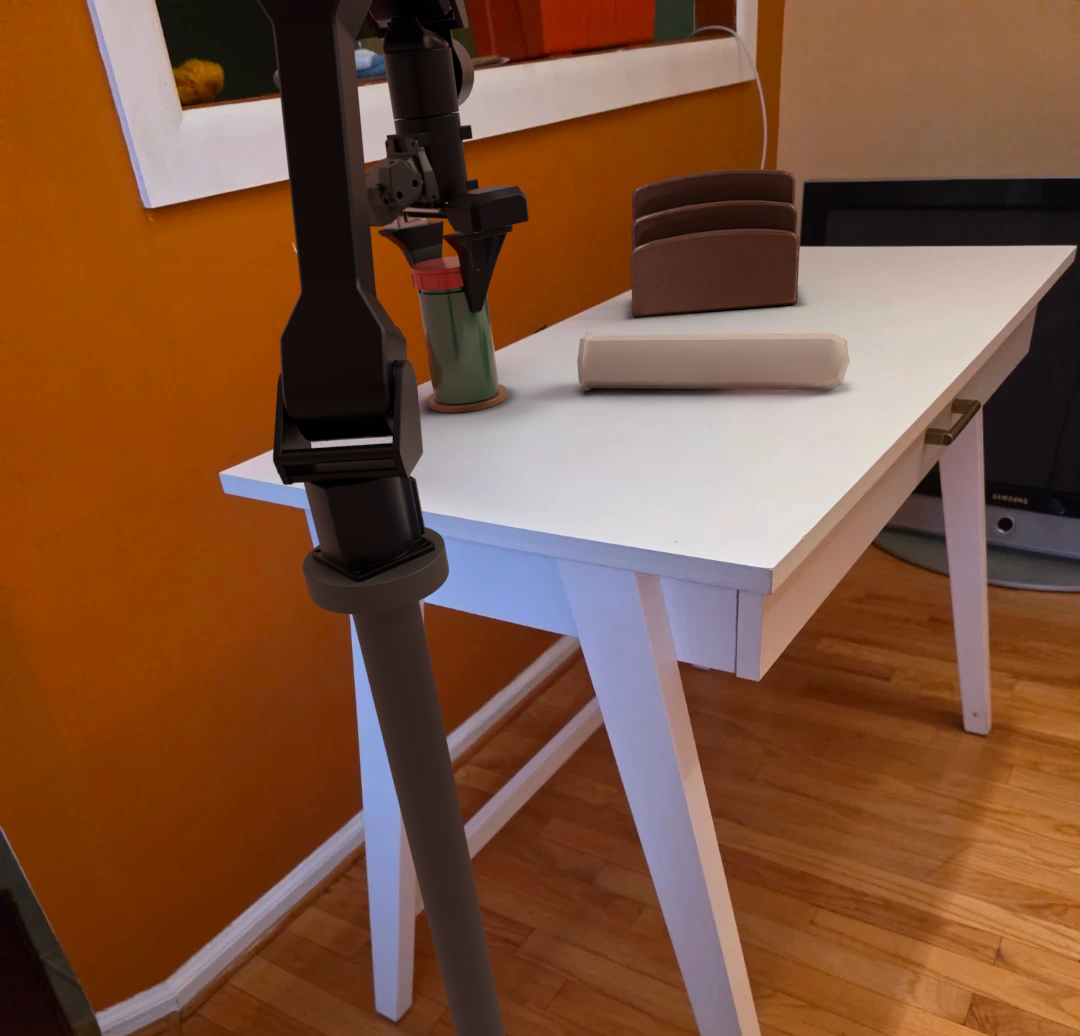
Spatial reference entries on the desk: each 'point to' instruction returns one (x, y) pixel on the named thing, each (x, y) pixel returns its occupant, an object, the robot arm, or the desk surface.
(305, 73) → the robot arm
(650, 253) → the letter holder
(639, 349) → the tube
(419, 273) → the lid
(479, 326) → the jar
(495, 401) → the disc
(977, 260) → the desk surface
